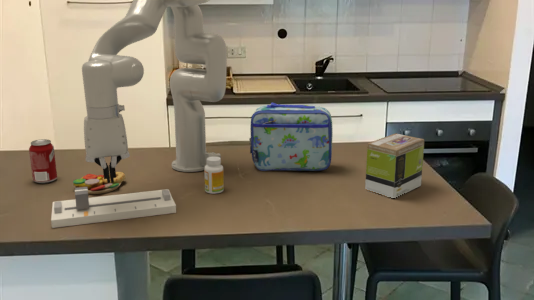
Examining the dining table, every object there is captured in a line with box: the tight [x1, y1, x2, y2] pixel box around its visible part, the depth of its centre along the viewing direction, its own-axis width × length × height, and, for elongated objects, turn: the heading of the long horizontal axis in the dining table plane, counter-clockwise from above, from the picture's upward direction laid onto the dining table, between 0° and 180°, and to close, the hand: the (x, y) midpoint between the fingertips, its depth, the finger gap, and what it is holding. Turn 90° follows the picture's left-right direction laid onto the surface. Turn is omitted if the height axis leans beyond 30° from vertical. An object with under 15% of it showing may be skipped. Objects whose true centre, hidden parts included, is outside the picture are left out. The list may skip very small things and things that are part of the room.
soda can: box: [28, 138, 58, 184], centre depth 158 cm, size 7×7×12 cm
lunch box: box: [249, 102, 333, 172], centre depth 170 cm, size 26×11×21 cm, turn 84°
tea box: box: [364, 132, 425, 199], centre depth 155 cm, size 15×10×15 cm, turn 135°
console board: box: [50, 188, 177, 229], centre depth 139 cm, size 30×12×4 cm, turn 109°
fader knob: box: [74, 187, 89, 210], centre depth 136 cm, size 3×5×4 cm, turn 19°
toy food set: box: [72, 171, 126, 195], centre depth 155 cm, size 13×13×3 cm
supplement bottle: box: [203, 157, 225, 195], centre depth 152 cm, size 5×5×10 cm
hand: (110, 180), depth 138 cm, fingers closed
